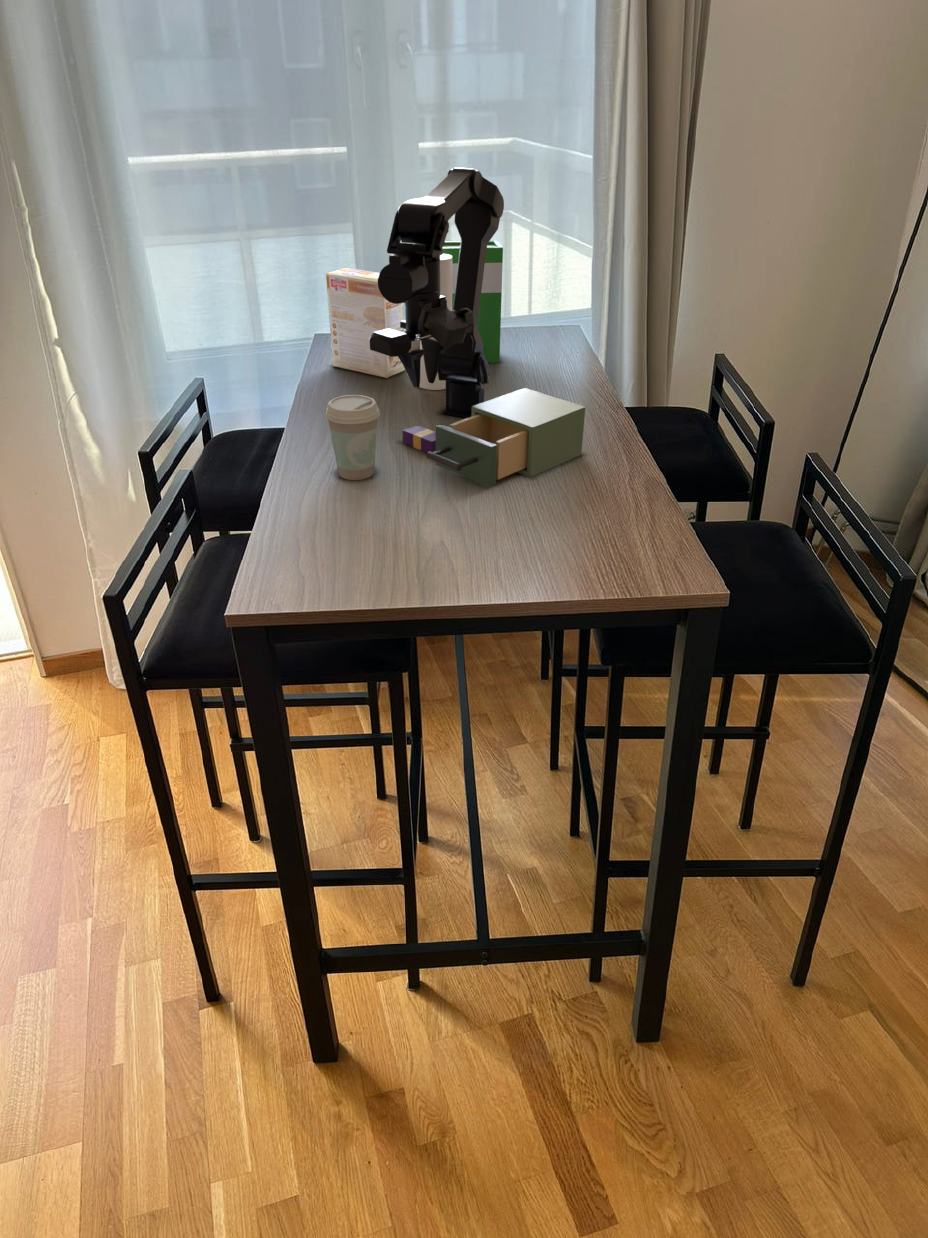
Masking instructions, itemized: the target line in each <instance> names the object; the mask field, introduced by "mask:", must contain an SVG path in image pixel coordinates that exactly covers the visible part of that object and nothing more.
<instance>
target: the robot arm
mask: <svg viewBox="0 0 928 1238" xmlns="http://www.w3.org/2000/svg"><path fill="white" fill-rule="evenodd" d="M504 200H505V199H504V197H503V195H502V193H501V191H500V189H499V187H498V186H497V184H495V183H494V182H492V181H490V180H488V179H487V178H485V177H484V176H483V174H482V173H481V171H480V170H477V169H476V168H472V167H471V168H468V167H467V168H466V167H453V168H451V169H449V170H448V172H447V175H446V176H445V178H443V179H442V180H441V181H440V182H439V183H438V184H437V185H436V186H435V187H434V188H432V190H431V191H430V192H428V194H426V195H425V196H423V197H418V198H417V197H416V198H411V199H408V200H406V201H404V202H403V203H401V204H400V206H399V207H398V209H397V211H396V212H395V215H394V218H393V223H392V227H391V232H390V236H389V239H388V244H387V247H386V253H387V254H389V255H388V264H386V265H384V266H383V267H382V268H381V270H380V272H379V273H380V274H379V277H378V288H379V290H380V293H381V294H382V296H383V297H384V298H385V299H386V300H387V301H389V302H391V303H394V304H400V303H403V304H404V320H403V321H400V328H404V330H405V331H404V332H400V331H397V330H393V329H390V328H388V329H384V330H380V331H376V332H373V333H372V335H371V336H370V350H372V351H376V352H379V353H382V354H385V355H388V356H391V357H396V356H398V357H399V359H400V361H401V362H402V364H403V366H404V368H405V370H404V371H405V372H406V374H407V376H408V378H409V380H410V382H411V385H412V386H413V388H416V389H419V388H420V387H419V386H420V361H421V357H422V356H424V363H425V370H426V375H427V379H428V382H429V383H434V381H435V378H436V375H437V372H438V377H439V380H441V381H442V380H444V381H446V389H445V408H443V409H442V410H441V413H442V414H443V415H449V416H455V417H459V418H465V419H466V418H469V417H471V415H472V406H474V405H477V404H480V403H483V402H485V388H484V387H483V385H486V384H488V383H489V379H490V374H491V373H490V371H491V370H490V369H491V367H490V364H489V363H488V362H487V360H486V358H485V356H484V354H483V346H484V345H483V342H482V339H481V337H480V334H479V332H478V330H477V323H478V315H479V307H480V298H481V290H482V282H483V274H484V266H485V258H486V250H487V244H488V242H489V241H491V240H492V238H493V237H494V235H495V234H496V233H497V232H498V231H499V226H500V220H501V218H502V216H503V214H504V211H505V201H504ZM452 217H453V222H454V225H455V228H456V229H457V232H458V234H459V238H460V241H461V245H460V254H459V263H458V271H457V280H456V289H455V297H454V306H453V311H450V310H449V309H448V308H447V300H446V297H445V296H441V295H440V255H442V254H443V250H442V248H443V244H444V241H446V238H447V235H448V233H449V229H450V223H449V222H450V221H449V220H451V218H452ZM420 244H421V245H420ZM420 340H421V343H422V349H420Z"/></svg>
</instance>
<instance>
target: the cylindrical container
mask: <svg viewBox="0 0 928 1238" xmlns="http://www.w3.org/2000/svg"><path fill="white" fill-rule="evenodd" d="M440 295H441V296H445V297H446V300H447V308H448V309H449V310H450V311H452V256H451V255H449V254H444V253H443V254H442V255H440ZM420 349H422V343H421V340H420ZM419 388H421V389H423V390H431V391H438V390H439V391H441V390H446V381H444V380H442V381H441V380H439V377H438V372H437V375H436V378H435V381H434V383H429V382H428V379H427V375H426V370H425V363H424V356H422V357H421V361H420V386H419Z"/></svg>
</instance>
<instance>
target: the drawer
mask: <svg viewBox="0 0 928 1238" xmlns="http://www.w3.org/2000/svg"><path fill="white" fill-rule="evenodd" d="M435 432H436V451H435V452H430V451H429V452H426V454H425V458H426V459H428V460H429V461H432V462H434V463H435V466H438V467H440V468H443V469H445V470H447V471H450V472H451V473H454V474H457V475H459V476H461V477H464V478H466V479H469V480H471V481H473V482H476V483H479V484H480V485H483V486H486V487H488V488H492V487H495V486H496V482H497V480H502V479H503V478H506V477H507V476H508V477H509V476H510V475H512V474H515V473H518V472H517V471H519V470H522V469H524V468H526V467H527V462H528V443H529V431H528V430H525V429H522V428H520V427H517V426H514V425H511V424H508V423H505V422H502V421H500V420H497V419H494V418H491V417H488V416H485V415H483V414H477V415H475V416H472V417H469V418H466V417H465V418H464V419H461V420H458V421H455V422H453V423H450V424H449V426H446V425H444V424H438V425H435Z"/></svg>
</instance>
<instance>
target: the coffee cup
mask: <svg viewBox="0 0 928 1238" xmlns="http://www.w3.org/2000/svg"><path fill="white" fill-rule="evenodd" d="M380 415H381V413H380V409H379V407H378V405H377V402H376V399H374V398H373V397H371V396H367V395H361V394H345V395H340V396H336V397H334V398H332V399H330V400H329V401H328V403H327V407H326V410H325V418H326V419H327V422H328V427H329V431H330V437H331V442H332V448H333V452H334V458H335V463H336V468H337V473H338V475H339V477H341V478H342V479H344V480H347V481H361V480H366V479H369V478H371V477H372V476H373V475H374V474H375V460H376V448H377V435H378V434H377V433H378V419H379V416H380Z"/></svg>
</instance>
